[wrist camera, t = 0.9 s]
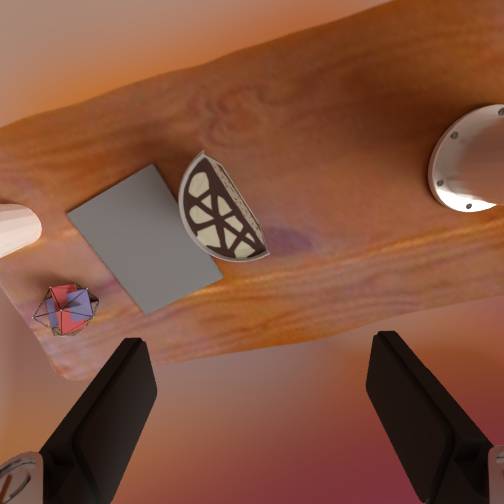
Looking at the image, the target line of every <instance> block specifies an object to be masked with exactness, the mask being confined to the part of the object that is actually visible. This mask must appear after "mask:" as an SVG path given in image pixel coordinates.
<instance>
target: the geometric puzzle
mask: <svg viewBox="0 0 504 504" xmlns="http://www.w3.org/2000/svg"><path fill="white" fill-rule="evenodd" d="M76 285H78V284H76V283H75V284H70V285H64V286H57V287H50V289H51V293H52V296H51V297H53V298H50V297H49V298H50V299H48V298H47V299H45V302H46V307H47V311H48V315H49V320H50V324H51V328H52V329H51V330H52V331H53V334H54V336H58V337H68V336H74V335H76V334H78V333H79V332H80V331H81V330H83V329H84V328H85V327H87V325H85V322H86V321H84V319H88V318H90V319H91V317H92V318H93V317H94V315H95V314H94V315H93V312H94V311H92V307H91V303H92V302H90V299H89V294H90V293H89V294H88V290H87V289H88V288H85V287H84V288H77V287H76ZM79 287H80V286H79ZM50 289H49V290H50ZM77 289H83V290H79V291H77ZM49 290H48V292H47V293H49ZM47 295H48V294H47ZM92 296H93V295H92ZM46 297H47V296H46ZM93 297H94V296H93ZM44 298H45V297H44ZM96 299H97V298H96ZM43 300H44V299H43ZM97 301H98V303H99V301H100V300H99V299H98V300H97ZM93 302H96V301H93ZM98 303H97V304H98ZM42 304H43V303H42ZM40 305H41V304H40ZM96 306H98V305H96ZM39 307H41V306H39ZM95 308H96V307H95ZM96 309H97V308H96ZM37 310H39V309H37ZM94 310H95V309H94ZM95 312H96V311H95ZM36 313H37V311H36ZM36 313H35V314H36ZM44 315H46V314H44ZM34 316H35V315H34ZM34 316H33V317H32V318H35V317H34ZM40 316H43V315H40ZM36 317H39V316H36ZM90 319H89V320H90ZM35 320H36V319H35ZM87 321H88V320H87ZM38 322H39V321H38ZM88 322H89V321H88ZM40 323H42V322H40ZM87 324H89V323H87ZM43 325H44V323H43ZM45 325H46V324H45ZM47 326H48V325H47ZM47 326H46V327H47ZM57 326H59V327H57ZM53 327H54V328H53ZM56 328H60V329H56Z"/></svg>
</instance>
